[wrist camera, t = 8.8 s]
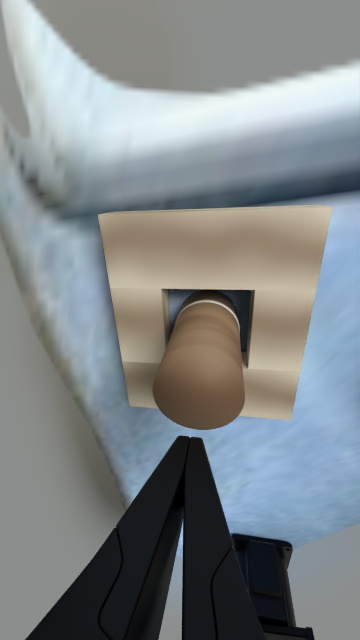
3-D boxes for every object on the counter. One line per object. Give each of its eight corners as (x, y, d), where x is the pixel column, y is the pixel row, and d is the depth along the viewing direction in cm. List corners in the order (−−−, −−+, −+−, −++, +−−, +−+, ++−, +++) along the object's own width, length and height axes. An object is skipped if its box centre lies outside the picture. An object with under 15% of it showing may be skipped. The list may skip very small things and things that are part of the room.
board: (285, 400, 21) (290, 420, 19) (137, 389, 22) (129, 406, 21) (319, 204, 14) (332, 206, 13) (111, 211, 16) (98, 214, 15)
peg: (236, 343, 19) (243, 434, 12) (180, 340, 20) (155, 426, 13) (240, 289, 17) (249, 359, 10) (178, 288, 18) (147, 353, 11)
